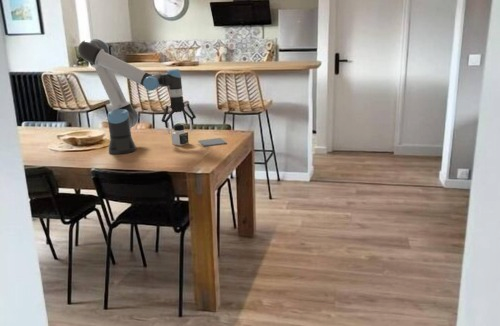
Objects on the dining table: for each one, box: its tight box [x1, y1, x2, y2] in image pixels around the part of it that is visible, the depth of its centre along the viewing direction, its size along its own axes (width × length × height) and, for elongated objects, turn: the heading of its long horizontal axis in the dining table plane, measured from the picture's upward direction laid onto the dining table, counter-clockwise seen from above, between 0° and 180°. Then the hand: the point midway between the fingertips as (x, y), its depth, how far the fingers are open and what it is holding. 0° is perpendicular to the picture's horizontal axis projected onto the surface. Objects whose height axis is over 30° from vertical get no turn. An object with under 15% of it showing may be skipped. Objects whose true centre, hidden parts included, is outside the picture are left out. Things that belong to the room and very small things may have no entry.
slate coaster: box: [197, 137, 227, 148], centre depth 271 cm, size 14×14×1 cm
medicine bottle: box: [170, 123, 190, 146], centre depth 270 cm, size 7×7×12 cm
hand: (180, 131), depth 270 cm, fingers open, 13 cm apart
